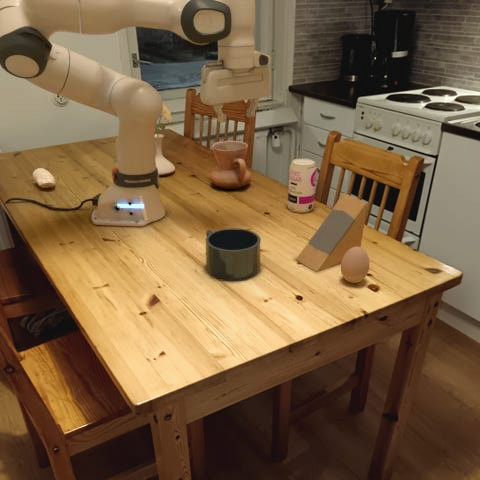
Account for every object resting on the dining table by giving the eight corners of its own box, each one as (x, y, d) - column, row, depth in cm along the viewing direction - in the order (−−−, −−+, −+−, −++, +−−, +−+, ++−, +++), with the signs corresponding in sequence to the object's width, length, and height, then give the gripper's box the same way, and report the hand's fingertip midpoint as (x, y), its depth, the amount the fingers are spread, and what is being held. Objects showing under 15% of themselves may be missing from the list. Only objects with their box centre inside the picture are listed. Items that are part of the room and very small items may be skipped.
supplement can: (315, 205, 163) (319, 159, 155) (309, 215, 157) (313, 167, 148) (291, 202, 165) (293, 156, 157) (284, 211, 159) (287, 164, 150)
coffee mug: (270, 270, 126) (271, 240, 122) (228, 286, 119) (228, 256, 115) (228, 246, 138) (227, 218, 133) (187, 260, 131) (185, 231, 126)
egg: (348, 290, 118) (353, 255, 113) (333, 278, 123) (337, 244, 118) (372, 285, 120) (378, 250, 115) (356, 273, 125) (361, 239, 120)
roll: (42, 194, 172) (39, 178, 169) (34, 184, 180) (30, 168, 177) (60, 191, 175) (57, 175, 171) (51, 181, 183) (47, 166, 180)
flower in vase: (162, 179, 185) (156, 107, 171) (139, 174, 190) (131, 103, 176) (184, 170, 194) (180, 101, 180) (161, 165, 199) (155, 98, 185)
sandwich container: (294, 259, 131) (297, 204, 123) (337, 245, 139) (343, 192, 130) (316, 272, 126) (321, 215, 117) (359, 256, 133) (367, 202, 124)
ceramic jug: (202, 181, 183) (201, 141, 175) (238, 175, 188) (238, 136, 181) (223, 197, 170) (222, 154, 162) (261, 190, 175) (262, 149, 167)
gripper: (209, 63, 113) (211, 127, 121) (276, 56, 124) (274, 116, 132) (193, 61, 117) (196, 123, 125) (259, 54, 128) (258, 112, 136)
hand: (236, 119), depth 129 cm, fingers open, 8 cm apart
